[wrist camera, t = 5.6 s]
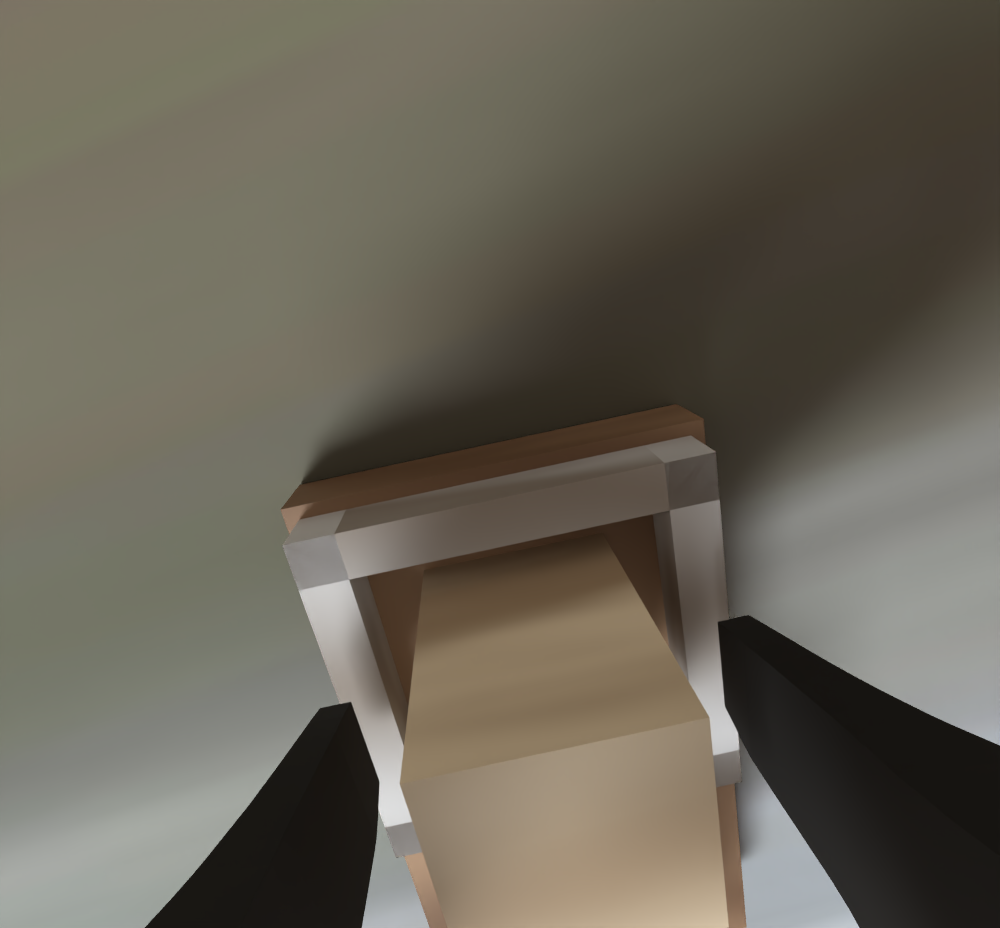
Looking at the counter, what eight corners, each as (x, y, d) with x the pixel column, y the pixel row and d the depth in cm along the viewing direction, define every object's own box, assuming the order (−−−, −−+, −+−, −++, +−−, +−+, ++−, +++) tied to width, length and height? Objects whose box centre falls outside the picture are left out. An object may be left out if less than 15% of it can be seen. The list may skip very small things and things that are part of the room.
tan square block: (423, 570, 12) (399, 784, 7) (602, 532, 12) (709, 717, 7) (467, 732, 14) (475, 1009, 8) (627, 698, 14) (731, 953, 8)
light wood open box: (723, 876, 18) (878, 1220, 11) (453, 936, 18) (451, 1316, 11) (676, 404, 13) (905, 529, 6) (299, 484, 13) (136, 696, 6)
